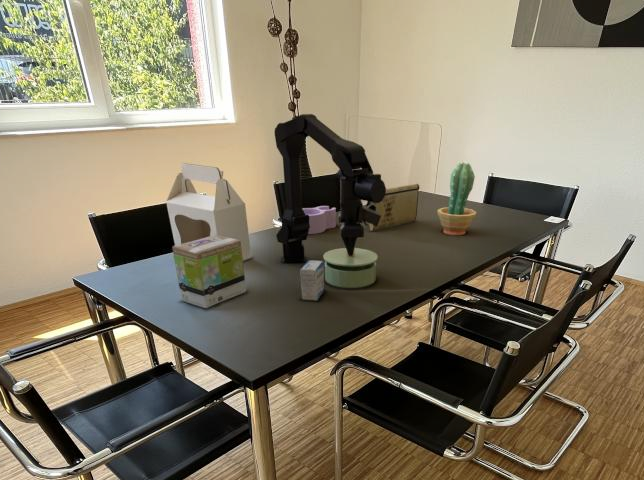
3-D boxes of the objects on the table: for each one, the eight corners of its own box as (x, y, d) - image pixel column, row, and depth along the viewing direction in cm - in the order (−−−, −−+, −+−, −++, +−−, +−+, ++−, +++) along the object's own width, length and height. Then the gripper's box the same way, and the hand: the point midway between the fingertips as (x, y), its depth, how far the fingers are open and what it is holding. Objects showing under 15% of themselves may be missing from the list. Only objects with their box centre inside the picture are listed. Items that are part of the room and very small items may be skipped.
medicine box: (317, 301, 128) (316, 270, 123) (301, 300, 128) (299, 268, 123) (324, 290, 134) (323, 260, 129) (309, 289, 135) (308, 259, 130)
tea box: (207, 309, 122) (197, 252, 114) (181, 301, 126) (169, 246, 118) (247, 292, 133) (241, 238, 124) (222, 285, 137) (214, 233, 129)
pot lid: (323, 268, 131) (323, 250, 128) (323, 251, 144) (322, 234, 141) (380, 268, 132) (381, 250, 129) (374, 251, 145) (375, 234, 142)
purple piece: (321, 221, 200) (321, 204, 196) (342, 227, 193) (342, 209, 189) (285, 230, 188) (284, 212, 184) (306, 236, 181) (305, 217, 177)
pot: (325, 289, 135) (325, 271, 132) (324, 271, 147) (324, 255, 145) (377, 289, 136) (378, 271, 133) (372, 271, 148) (373, 254, 146)
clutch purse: (407, 218, 207) (409, 181, 199) (419, 221, 203) (422, 183, 194) (357, 229, 190) (358, 189, 182) (369, 233, 186) (370, 192, 178)
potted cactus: (479, 230, 191) (490, 162, 177) (465, 239, 180) (475, 167, 166) (444, 225, 198) (451, 159, 184) (428, 233, 187) (435, 163, 173)
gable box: (252, 258, 158) (241, 166, 142) (223, 268, 149) (208, 171, 133) (206, 247, 168) (191, 159, 152) (176, 256, 158) (157, 164, 143)
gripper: (383, 204, 121) (381, 264, 130) (376, 190, 137) (374, 244, 146) (340, 204, 121) (341, 264, 129) (338, 190, 136) (338, 244, 145)
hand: (350, 254), depth 137 cm, fingers closed on pot lid, 2 cm apart
